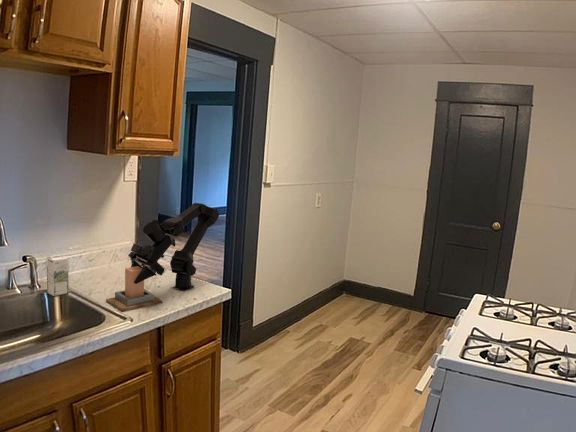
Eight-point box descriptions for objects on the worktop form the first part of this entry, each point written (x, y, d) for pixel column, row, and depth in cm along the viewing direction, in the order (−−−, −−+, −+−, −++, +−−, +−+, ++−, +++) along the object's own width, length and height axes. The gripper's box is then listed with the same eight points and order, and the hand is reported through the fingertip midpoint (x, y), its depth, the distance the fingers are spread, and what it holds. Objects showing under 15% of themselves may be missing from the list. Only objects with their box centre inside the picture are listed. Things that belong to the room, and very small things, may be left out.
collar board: (145, 293, 184) (145, 285, 184) (162, 302, 175) (162, 294, 174) (106, 301, 173) (106, 292, 172) (121, 312, 164) (121, 302, 163)
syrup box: (62, 289, 183) (61, 254, 180) (69, 293, 179) (68, 257, 176) (47, 293, 178) (46, 256, 176) (54, 297, 174) (53, 259, 172)
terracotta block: (137, 296, 177) (137, 266, 175) (143, 300, 174) (144, 269, 172) (125, 299, 174) (125, 268, 172) (131, 303, 170) (131, 271, 168)
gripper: (133, 230, 179) (105, 262, 173) (157, 240, 166) (127, 275, 160) (151, 248, 186) (125, 279, 180) (176, 258, 173) (148, 292, 167)
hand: (131, 281), depth 172 cm, fingers open, 6 cm apart
